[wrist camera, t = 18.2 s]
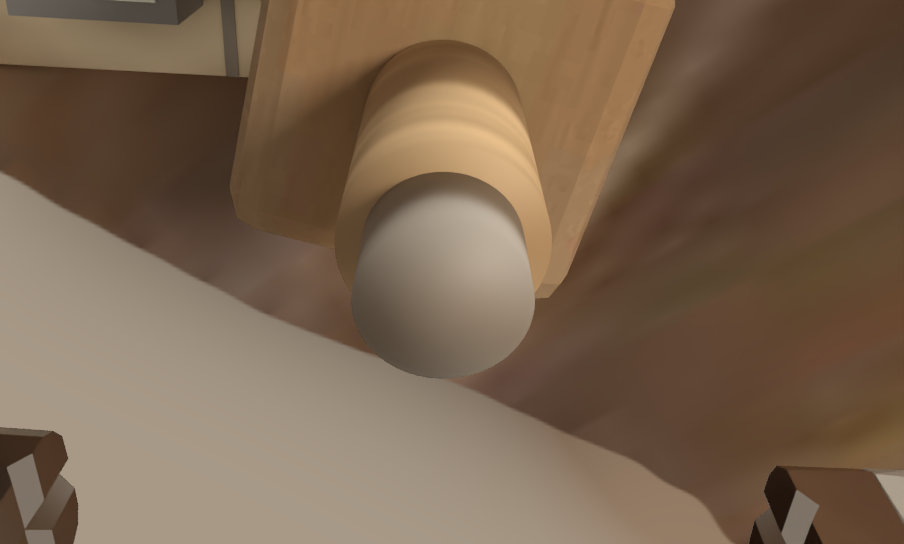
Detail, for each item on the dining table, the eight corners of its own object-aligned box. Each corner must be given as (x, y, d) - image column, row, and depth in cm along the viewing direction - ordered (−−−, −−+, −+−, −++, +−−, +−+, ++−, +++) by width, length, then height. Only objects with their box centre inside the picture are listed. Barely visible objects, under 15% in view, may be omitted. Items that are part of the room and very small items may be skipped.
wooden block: (588, -106, 38) (701, -26, 20) (517, 105, 42) (558, 320, 25) (367, -177, 36) (281, -158, 19) (319, 49, 41) (214, 233, 23)
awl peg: (364, 36, 21) (315, 188, 13) (528, 42, 21) (578, 197, 13) (366, 187, 23) (324, 398, 15) (515, 192, 23) (552, 404, 15)
